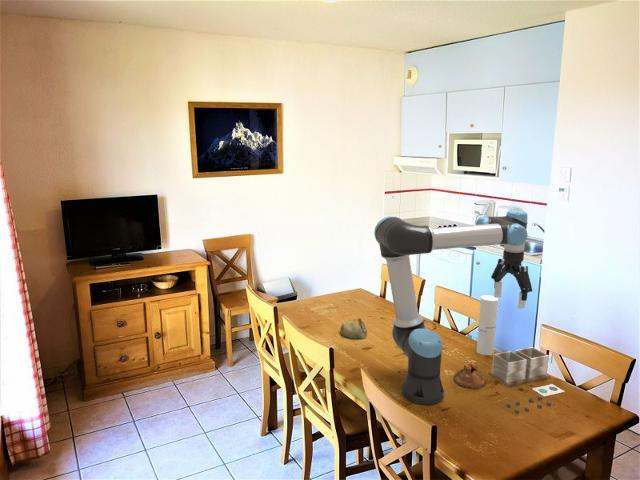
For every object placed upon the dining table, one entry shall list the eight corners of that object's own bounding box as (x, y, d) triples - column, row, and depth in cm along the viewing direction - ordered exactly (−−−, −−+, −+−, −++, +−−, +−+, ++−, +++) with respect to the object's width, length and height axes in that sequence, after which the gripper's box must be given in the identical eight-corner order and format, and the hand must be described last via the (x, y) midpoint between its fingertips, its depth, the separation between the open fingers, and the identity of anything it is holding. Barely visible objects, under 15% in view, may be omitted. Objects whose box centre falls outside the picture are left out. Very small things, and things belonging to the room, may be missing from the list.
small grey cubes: (516, 413, 173) (517, 411, 173) (506, 406, 178) (506, 403, 178) (550, 405, 179) (551, 403, 179) (539, 398, 184) (539, 395, 183)
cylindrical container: (494, 356, 218) (499, 301, 213) (477, 354, 219) (481, 299, 214) (492, 349, 225) (497, 295, 219) (475, 347, 226) (480, 294, 221)
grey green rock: (372, 337, 237) (373, 321, 235) (349, 342, 231) (350, 326, 229) (357, 327, 249) (358, 312, 247) (335, 331, 244) (335, 315, 242)
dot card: (543, 396, 185) (544, 396, 185) (531, 389, 190) (531, 388, 190) (564, 391, 188) (564, 391, 188) (552, 384, 194) (552, 383, 194)
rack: (507, 386, 192) (509, 365, 190) (488, 374, 202) (490, 353, 200) (550, 377, 199) (552, 356, 197) (529, 365, 209) (531, 345, 207)
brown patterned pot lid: (471, 372, 203) (472, 356, 202) (491, 386, 192) (492, 369, 191) (446, 377, 199) (448, 360, 197) (465, 392, 188) (467, 374, 187)
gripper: (546, 257, 185) (540, 311, 190) (499, 243, 208) (495, 292, 213) (530, 258, 183) (524, 314, 187) (484, 244, 205) (480, 293, 210)
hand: (509, 302), depth 200 cm, fingers open, 13 cm apart
